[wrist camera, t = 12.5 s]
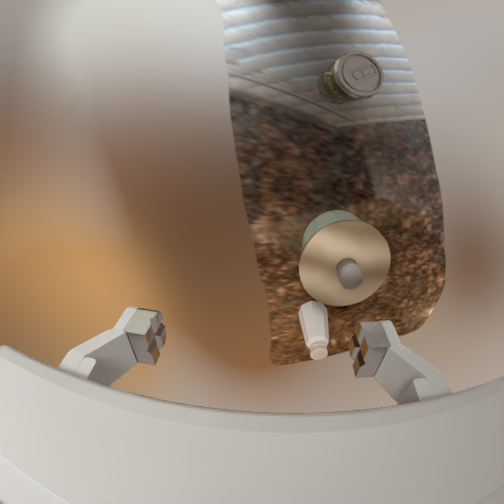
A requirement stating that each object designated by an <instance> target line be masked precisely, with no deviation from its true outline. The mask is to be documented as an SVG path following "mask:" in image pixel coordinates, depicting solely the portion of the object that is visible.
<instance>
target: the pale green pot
mask: <svg viewBox="0 0 504 504" xmlns="http://www.w3.org/2000/svg"><path fill="white" fill-rule="evenodd" d="M346 219H353V220H360V218H358V217H357V216H356V215H354V214H353V213H351V212H348V211H345V210H331V211H327V212H324V213H322V214H320V215H318V216H317V217H315V218H314V219H313V220H312V221H311V222H310V223H309V224H308V226H307V227H306V229H305V231H304V234H303V238H302V250H303V248H304V246H305V244H306V243H307V241H308V240H309V239H310V237H311V236H312V235H313V234H314V233H315V232H316V231H318V230H319V229H321V228H322V227H324V226H326V225H327V224H330V223H332V222H335V221H339V220H346ZM360 221H362V220H360Z"/></svg>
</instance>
